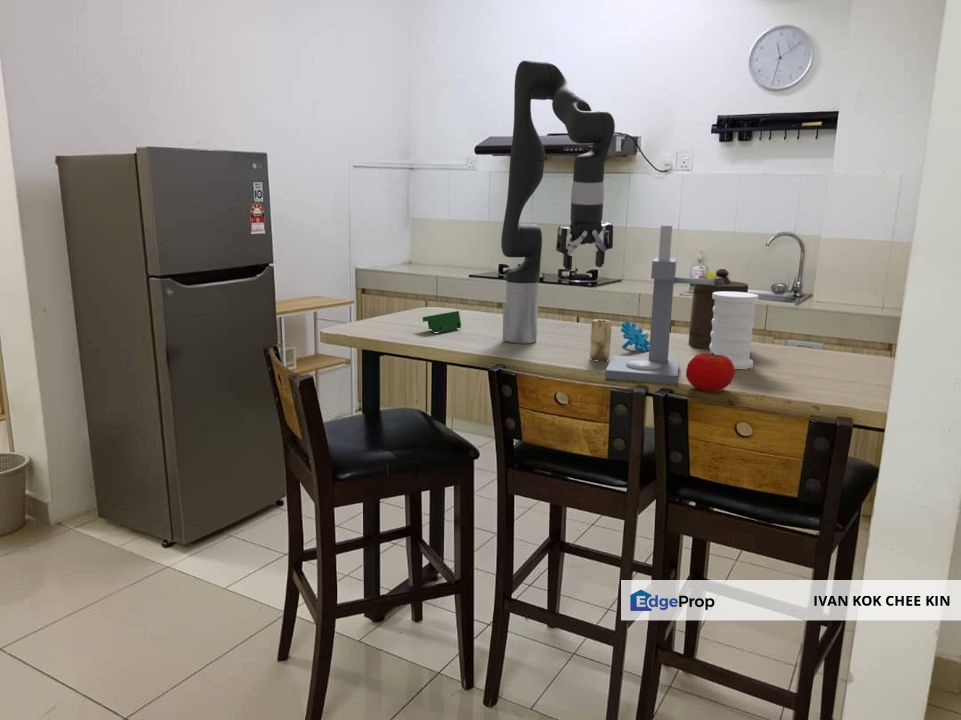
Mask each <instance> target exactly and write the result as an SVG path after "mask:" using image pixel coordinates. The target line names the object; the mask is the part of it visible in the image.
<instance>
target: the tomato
mask: <svg viewBox="0 0 961 720" xmlns="http://www.w3.org/2000/svg"><path fill="white" fill-rule="evenodd" d="M698 352H700V353H699V354H695V355H694V357H693V358H691V360H690V361H689V362H688V364H687V365H686V366H687V367H686V371H685V377H686V380H687V381H688V382H689V384H690V385H691V386H692V387H693V388H696V389H697V390H699V391H704V392H719V391H721V390H723V389H725V388H727V387H728V386H729V385H730V384H732V381H733V379H734V378H735V373H736V370H735V369H734V365H733V363H732V361H731V360H730V359H729V358H728V357H726V356H723V355H715V354H714V353H713V352H712V353H710V352H706V351H705V352H702V351H699V350H698Z"/></svg>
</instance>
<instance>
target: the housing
mask: <svg viewBox="0 0 961 720" xmlns="http://www.w3.org/2000/svg"><path fill="white" fill-rule="evenodd" d="M612 322H613V321H611V320H608V319H592V320H591V328H590V329H591V330H590V331H591V332H590V351H589V360H590V359H592V360H591V361H593V360H598V361H597V362H600V361H603V362H608V361H607V360H609V361H610V353H611V342H612V341H611V338H612V337H611V336H612Z"/></svg>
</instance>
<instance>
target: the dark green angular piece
mask: <svg viewBox="0 0 961 720" xmlns="http://www.w3.org/2000/svg"><path fill="white" fill-rule="evenodd" d="M422 322H423V323H425V322H427V326H428V330H429V329H432V331H431V332H433V333H434V332H439V333H438V334H441V333H440V332H442V333H445V332H444V331H447V332H449V331H448V330H452V331H454V330H453V329H457V328H460V329H461V328H462V323H461V317H460V311H459V310H456V311H449V312H445V313H439V314H434V315H427V316H422ZM457 330H458V329H457Z"/></svg>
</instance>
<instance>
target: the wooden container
mask: <svg viewBox="0 0 961 720" xmlns="http://www.w3.org/2000/svg"><path fill="white" fill-rule="evenodd" d="M729 273H730V272H729V270H726V268H719V269H717V270H716V271H715V277H714V278H713V279H715V278H717V277H721V278H723V280H724V284H723V286H721V287H716V286H715V285H706V284H693V294H692V301H691V311H690V318H689V319H690V320H689V334H688V345H689V346H690V347H692V348H696V347H697V349H700V348H701V350H706V349H707V351H710V348H709V346H710V343H711V335H710V334H711V331H712V327H713V325H712V319H713V316H714V313H713V307H714V304H715V300H714V299H713V298H712V295H713V292H723V291H729V292H745V293H749V292H748V291H749V284H748V283H746V282H740V281H734V280H730V279H729V278H728V276H729V275H730V274H729Z"/></svg>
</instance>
